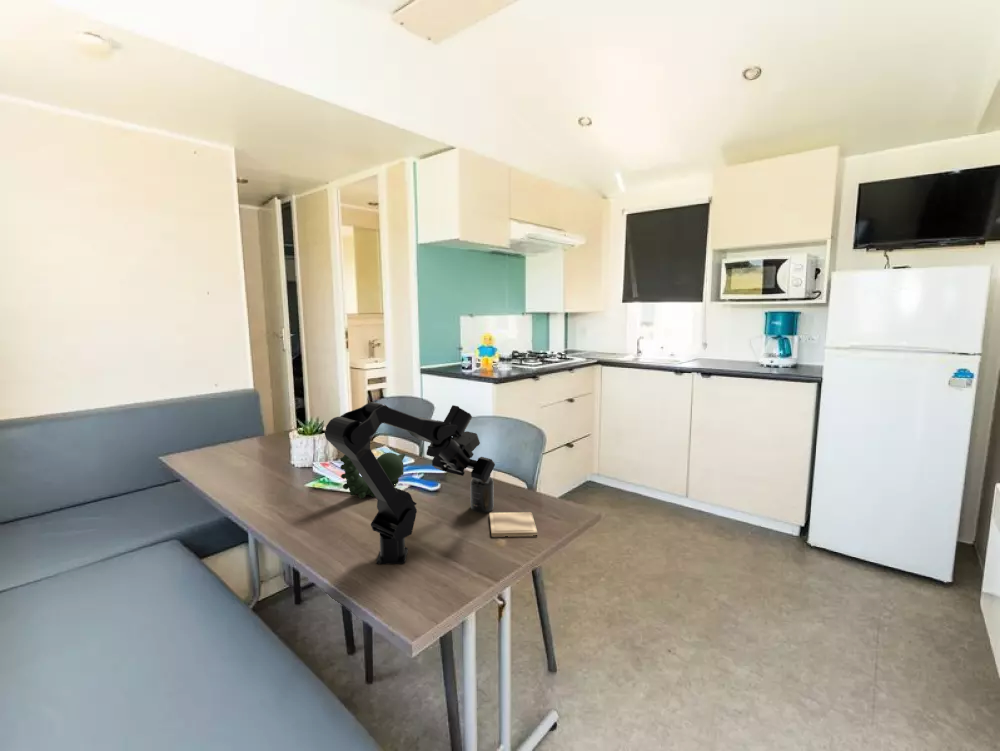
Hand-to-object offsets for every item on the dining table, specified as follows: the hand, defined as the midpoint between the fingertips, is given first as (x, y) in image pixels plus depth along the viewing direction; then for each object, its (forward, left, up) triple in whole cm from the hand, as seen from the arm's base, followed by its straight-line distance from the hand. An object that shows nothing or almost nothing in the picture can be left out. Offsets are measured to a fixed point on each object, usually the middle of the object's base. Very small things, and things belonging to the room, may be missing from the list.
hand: (475, 477), depth 135 cm
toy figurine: (+16, +31, -11) cm, 37 cm away
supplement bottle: (+2, -2, -11) cm, 11 cm away
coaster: (-9, -10, -10) cm, 17 cm away
